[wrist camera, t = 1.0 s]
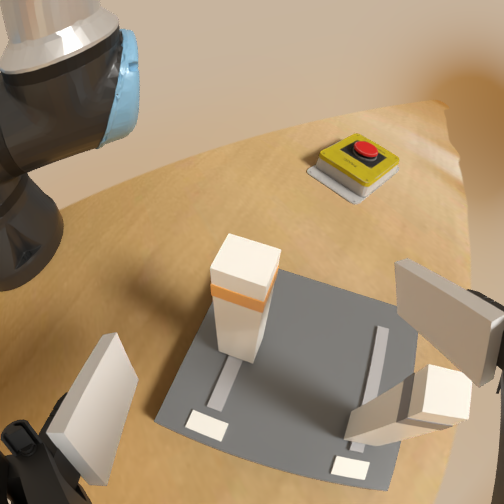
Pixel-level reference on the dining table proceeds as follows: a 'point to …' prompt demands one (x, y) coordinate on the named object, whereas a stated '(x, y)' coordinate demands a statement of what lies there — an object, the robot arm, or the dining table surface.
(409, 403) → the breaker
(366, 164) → the emergency button
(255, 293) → the block
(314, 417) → the panel
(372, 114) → the dining table surface
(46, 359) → the dining table surface
